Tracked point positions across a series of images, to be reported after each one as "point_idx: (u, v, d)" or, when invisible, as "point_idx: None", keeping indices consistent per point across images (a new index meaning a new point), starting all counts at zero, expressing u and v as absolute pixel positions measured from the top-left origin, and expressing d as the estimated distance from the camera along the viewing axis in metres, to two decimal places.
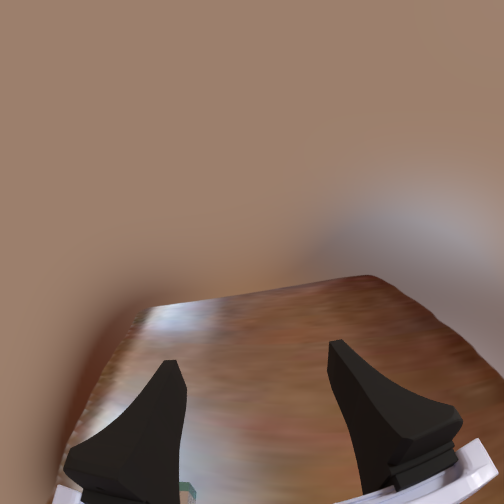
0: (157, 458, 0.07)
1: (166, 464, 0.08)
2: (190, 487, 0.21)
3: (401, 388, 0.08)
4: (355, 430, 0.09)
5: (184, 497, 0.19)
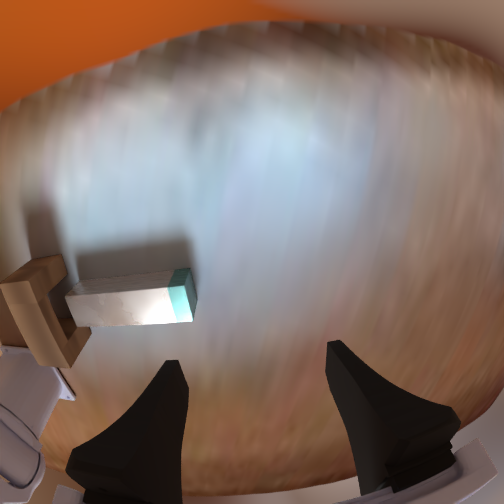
0: (159, 458, 0.07)
1: (168, 464, 0.08)
2: None
3: (399, 389, 0.08)
4: (353, 431, 0.09)
5: (164, 318, 0.19)
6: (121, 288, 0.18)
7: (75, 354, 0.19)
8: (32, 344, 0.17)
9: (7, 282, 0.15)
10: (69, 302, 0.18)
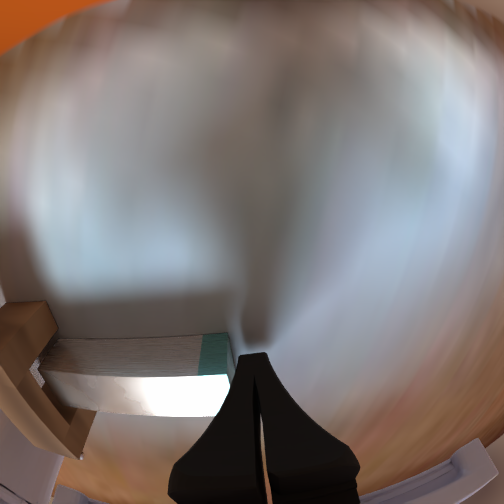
0: (259, 457, 0.07)
1: (261, 462, 0.08)
2: None
3: (301, 413, 0.08)
4: None
5: (191, 412, 0.11)
6: (119, 368, 0.11)
7: (82, 439, 0.11)
8: (21, 426, 0.09)
9: None
10: (45, 377, 0.10)
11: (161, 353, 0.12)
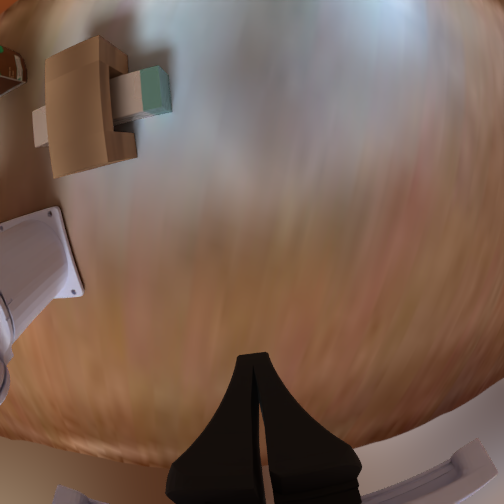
0: (257, 457, 0.07)
1: (259, 462, 0.08)
2: (157, 109, 0.15)
3: (303, 413, 0.08)
4: None
5: (129, 109, 0.14)
6: None
7: (117, 154, 0.14)
8: (58, 136, 0.12)
9: (60, 53, 0.10)
10: (35, 117, 0.13)
11: None
